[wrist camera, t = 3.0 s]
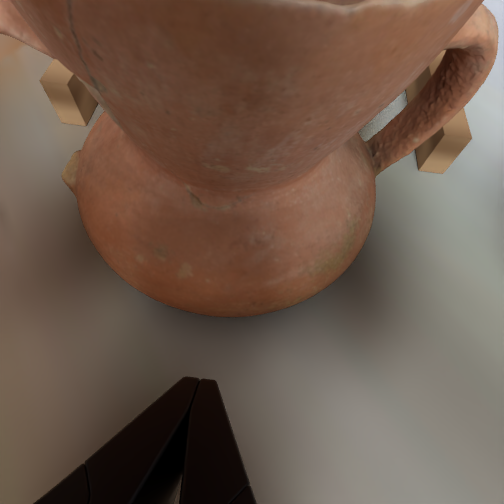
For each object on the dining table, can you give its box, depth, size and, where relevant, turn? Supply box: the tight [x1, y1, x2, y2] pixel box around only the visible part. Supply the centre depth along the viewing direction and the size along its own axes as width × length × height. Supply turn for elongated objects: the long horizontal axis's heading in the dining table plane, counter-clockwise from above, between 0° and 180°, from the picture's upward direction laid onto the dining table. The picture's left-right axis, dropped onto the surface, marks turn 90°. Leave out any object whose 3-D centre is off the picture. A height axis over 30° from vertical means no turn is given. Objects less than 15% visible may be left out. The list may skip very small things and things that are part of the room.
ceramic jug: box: [0, 0, 498, 317], centre depth 13 cm, size 18×14×14 cm
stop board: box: [40, 50, 472, 174], centre depth 22 cm, size 13×26×8 cm, turn 83°
